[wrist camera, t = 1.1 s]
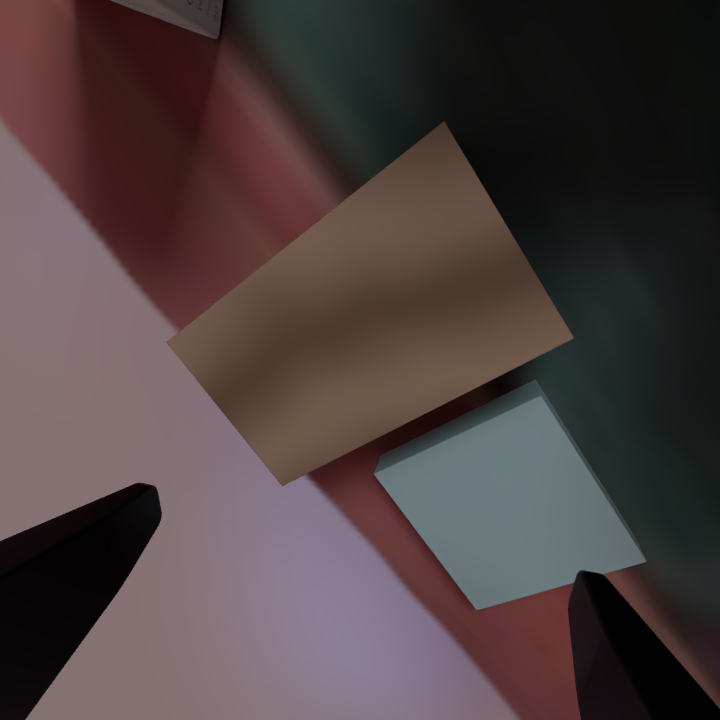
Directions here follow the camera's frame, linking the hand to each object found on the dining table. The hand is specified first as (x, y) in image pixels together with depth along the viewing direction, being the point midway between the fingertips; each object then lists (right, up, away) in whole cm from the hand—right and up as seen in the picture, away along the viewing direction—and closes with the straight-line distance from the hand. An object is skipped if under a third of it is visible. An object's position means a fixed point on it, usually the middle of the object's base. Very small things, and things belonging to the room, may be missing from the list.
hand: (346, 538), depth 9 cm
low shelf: (+1, +6, +12) cm, 13 cm away
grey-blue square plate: (+8, -3, +14) cm, 17 cm away
